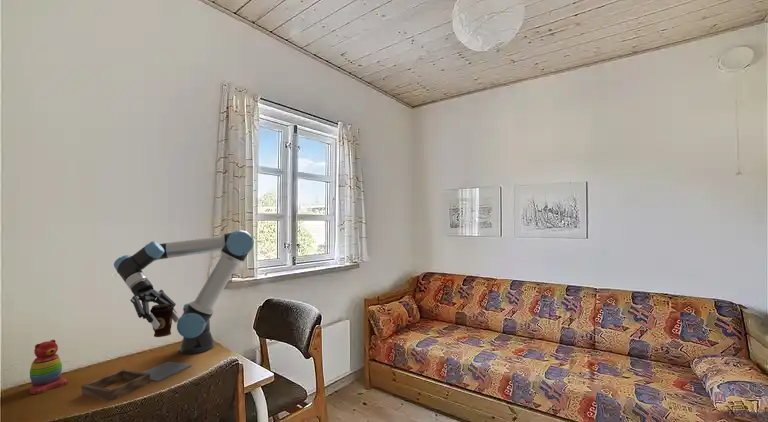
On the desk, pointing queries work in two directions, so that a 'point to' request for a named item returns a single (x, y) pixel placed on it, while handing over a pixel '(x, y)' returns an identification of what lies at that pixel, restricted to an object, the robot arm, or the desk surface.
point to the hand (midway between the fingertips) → (167, 323)
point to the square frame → (98, 391)
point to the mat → (165, 370)
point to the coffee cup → (163, 319)
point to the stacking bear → (46, 368)
